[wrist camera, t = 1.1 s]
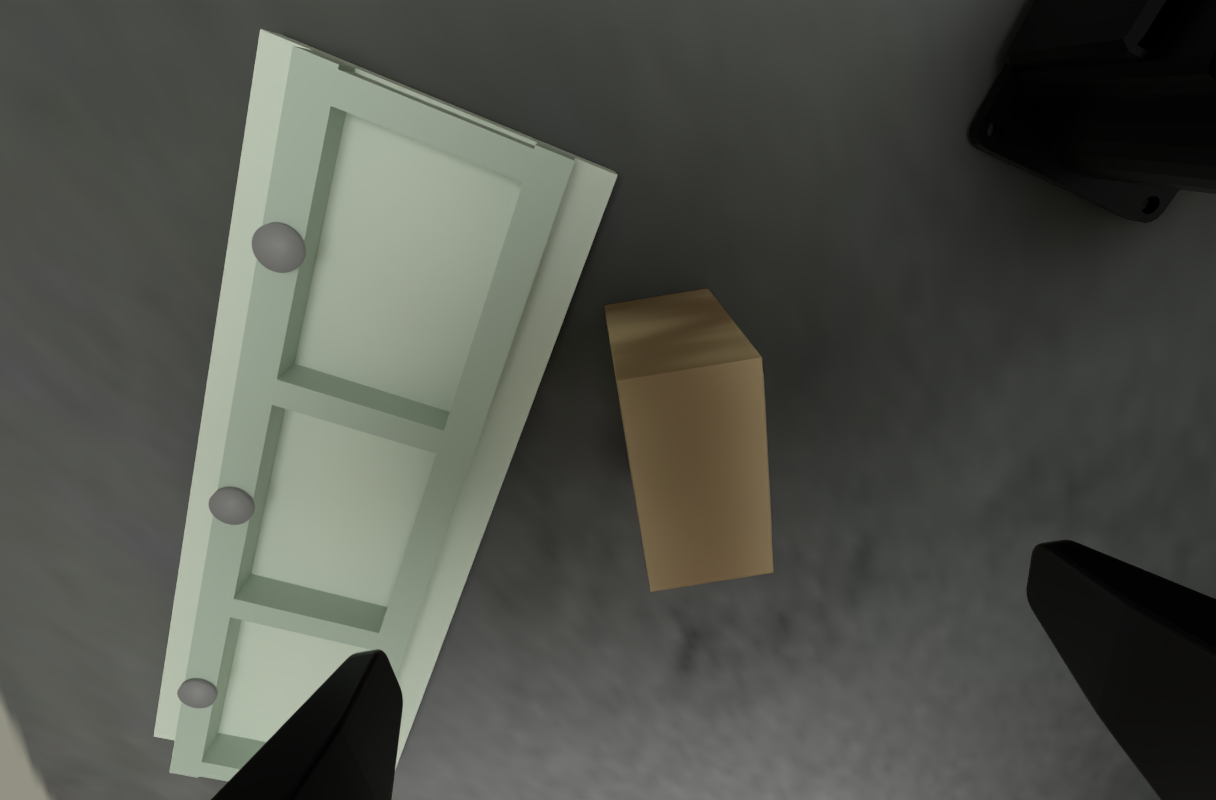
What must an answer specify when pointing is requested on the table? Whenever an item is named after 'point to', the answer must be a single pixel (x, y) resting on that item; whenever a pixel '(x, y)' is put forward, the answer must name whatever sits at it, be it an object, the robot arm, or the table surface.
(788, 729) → the table surface
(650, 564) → the tan rectangular box
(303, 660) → the rail board
